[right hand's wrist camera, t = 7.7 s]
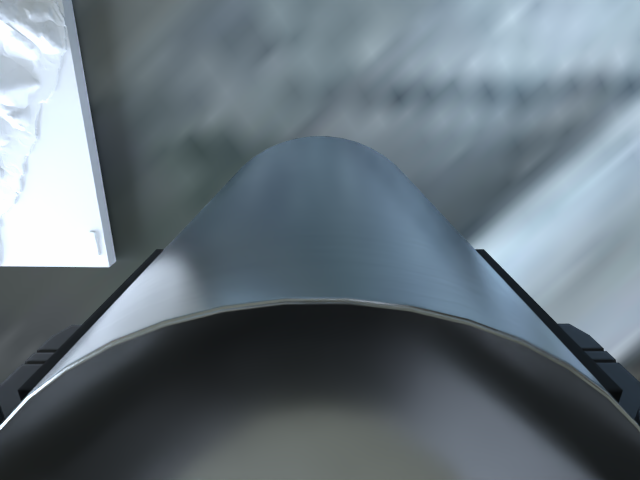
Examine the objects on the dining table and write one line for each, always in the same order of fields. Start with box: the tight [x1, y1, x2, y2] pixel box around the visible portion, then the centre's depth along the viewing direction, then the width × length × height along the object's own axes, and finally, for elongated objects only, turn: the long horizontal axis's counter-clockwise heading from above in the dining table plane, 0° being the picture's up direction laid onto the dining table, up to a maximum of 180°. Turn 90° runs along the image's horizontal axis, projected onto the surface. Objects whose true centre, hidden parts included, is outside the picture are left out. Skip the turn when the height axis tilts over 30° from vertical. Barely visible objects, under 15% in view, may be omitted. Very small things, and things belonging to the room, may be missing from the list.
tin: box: [0, 136, 640, 480], centre depth 11 cm, size 9×9×13 cm
